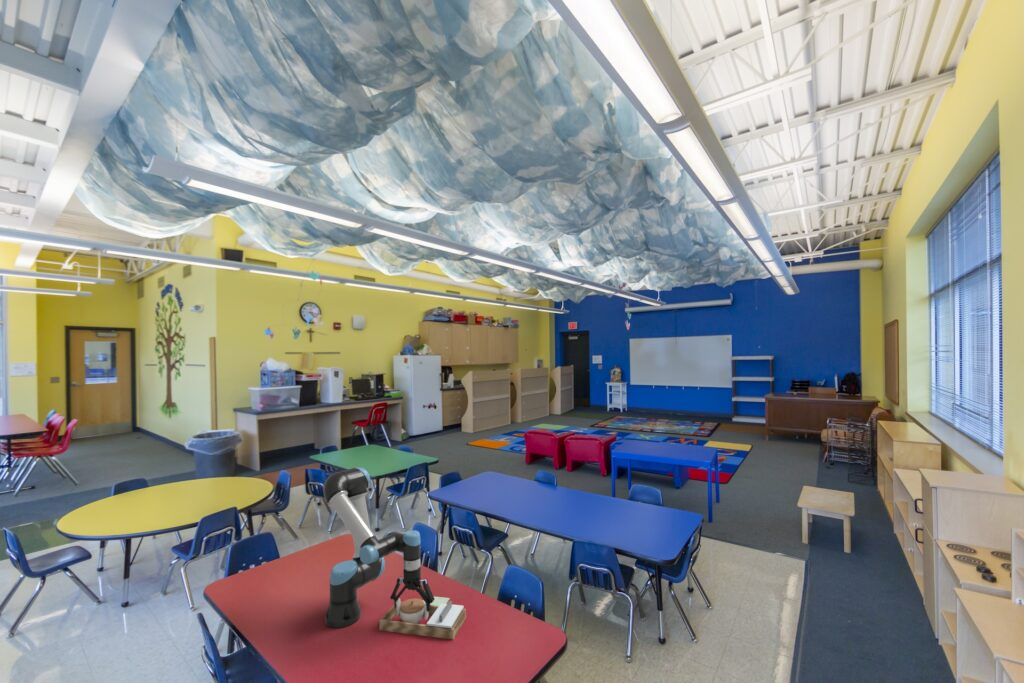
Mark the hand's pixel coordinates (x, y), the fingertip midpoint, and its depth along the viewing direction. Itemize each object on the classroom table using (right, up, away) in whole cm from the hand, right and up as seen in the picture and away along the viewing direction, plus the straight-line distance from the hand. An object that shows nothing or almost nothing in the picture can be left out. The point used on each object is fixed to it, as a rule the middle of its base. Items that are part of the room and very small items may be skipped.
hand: (412, 616), depth 194 cm
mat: (+7, -3, +14) cm, 16 cm away
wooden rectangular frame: (+5, -2, -1) cm, 6 cm away
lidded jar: (0, -3, 0) cm, 3 cm away
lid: (+15, +2, -3) cm, 16 cm away
